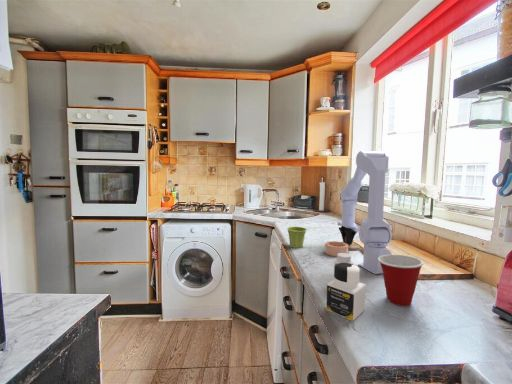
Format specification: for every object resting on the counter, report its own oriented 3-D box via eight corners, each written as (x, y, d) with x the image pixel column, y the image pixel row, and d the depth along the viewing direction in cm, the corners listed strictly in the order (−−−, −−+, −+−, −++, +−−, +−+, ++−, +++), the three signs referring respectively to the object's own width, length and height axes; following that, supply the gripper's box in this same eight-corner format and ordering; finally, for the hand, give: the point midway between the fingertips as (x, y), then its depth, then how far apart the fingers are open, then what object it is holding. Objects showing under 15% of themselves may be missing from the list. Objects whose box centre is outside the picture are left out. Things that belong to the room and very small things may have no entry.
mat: (366, 250, 113) (366, 249, 113) (343, 252, 110) (343, 251, 110) (350, 243, 124) (350, 242, 124) (329, 245, 122) (329, 244, 121)
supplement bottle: (348, 282, 80) (349, 251, 79) (355, 291, 75) (356, 257, 74) (331, 282, 80) (332, 251, 79) (336, 290, 75) (337, 257, 74)
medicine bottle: (325, 310, 64) (327, 265, 63) (339, 300, 69) (340, 258, 68) (352, 322, 59) (354, 273, 58) (364, 310, 64) (366, 265, 63)
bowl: (351, 256, 105) (352, 246, 104) (332, 258, 103) (333, 248, 102) (339, 250, 113) (340, 240, 113) (322, 251, 111) (322, 242, 111)
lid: (365, 249, 113) (365, 239, 113) (343, 251, 110) (344, 240, 110) (350, 242, 124) (350, 233, 123) (330, 244, 121) (330, 234, 121)
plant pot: (309, 246, 120) (310, 228, 119) (300, 250, 113) (300, 232, 112) (293, 242, 126) (293, 225, 125) (282, 246, 119) (283, 229, 118)
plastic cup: (381, 287, 77) (382, 249, 76) (423, 299, 70) (425, 257, 69) (371, 301, 68) (373, 259, 67) (418, 316, 61) (420, 269, 60)
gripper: (366, 217, 110) (364, 247, 111) (346, 212, 124) (345, 238, 125) (352, 217, 108) (351, 248, 109) (334, 212, 122) (333, 239, 123)
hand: (347, 243), depth 117 cm, fingers closed on lid, 3 cm apart
